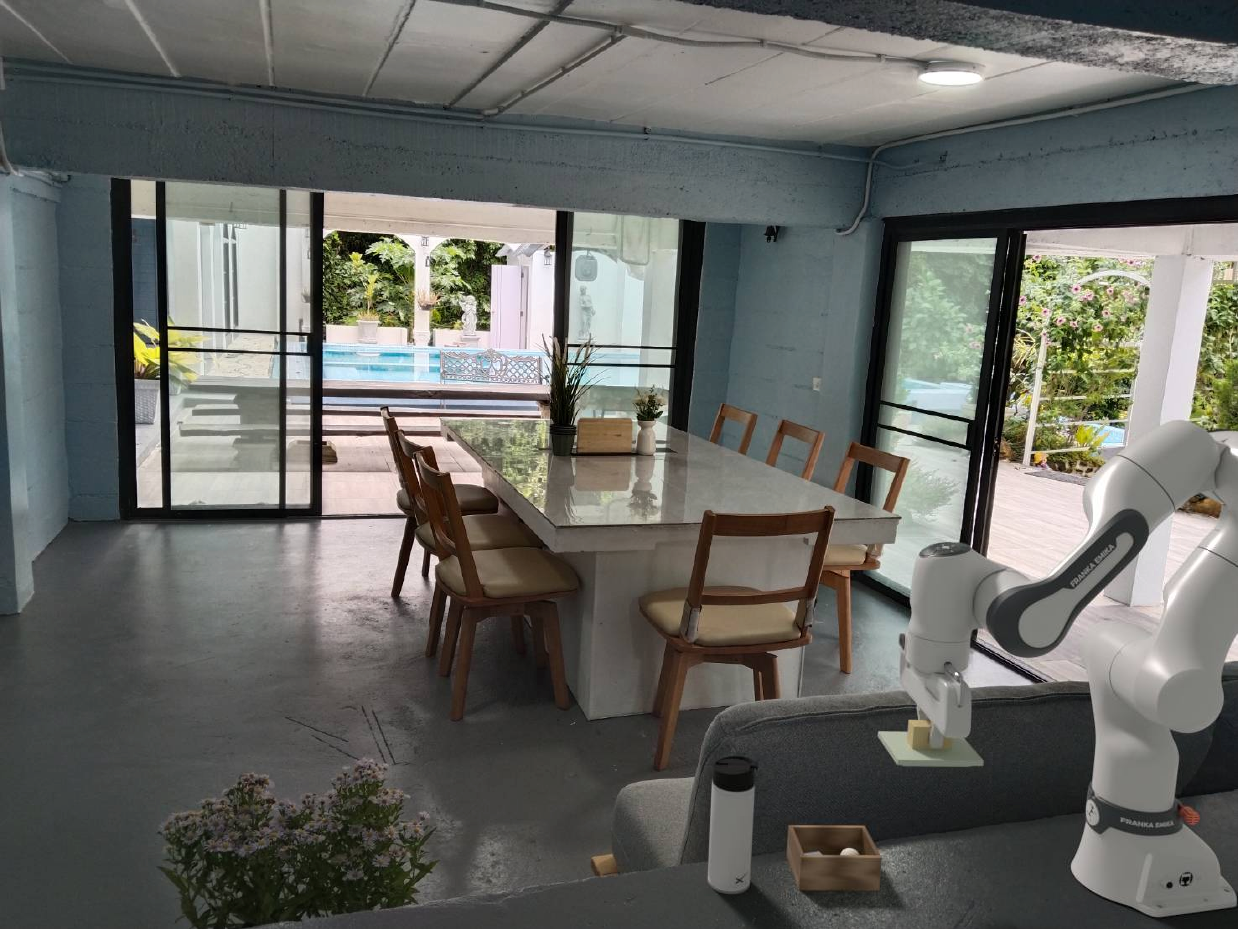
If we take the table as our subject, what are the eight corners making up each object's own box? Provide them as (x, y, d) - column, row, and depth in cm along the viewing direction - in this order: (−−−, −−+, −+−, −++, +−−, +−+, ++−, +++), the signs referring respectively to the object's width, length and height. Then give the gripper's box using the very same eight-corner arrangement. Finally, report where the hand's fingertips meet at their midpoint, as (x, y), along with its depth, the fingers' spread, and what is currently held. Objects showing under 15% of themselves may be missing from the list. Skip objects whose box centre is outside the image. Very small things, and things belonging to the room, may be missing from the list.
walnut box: (861, 861, 153) (864, 825, 152) (879, 895, 144) (881, 857, 143) (786, 860, 153) (788, 825, 152) (798, 894, 144) (801, 857, 143)
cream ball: (856, 863, 151) (858, 844, 151) (862, 875, 148) (864, 855, 148) (836, 863, 151) (837, 844, 151) (841, 874, 148) (843, 855, 147)
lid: (957, 742, 151) (960, 711, 150) (982, 771, 141) (985, 738, 141) (877, 741, 150) (879, 709, 150) (897, 770, 141) (899, 737, 140)
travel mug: (750, 902, 142) (756, 773, 139) (705, 895, 143) (710, 768, 140) (753, 878, 148) (759, 754, 145) (709, 872, 149) (715, 749, 146)
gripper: (987, 678, 133) (978, 773, 135) (934, 629, 153) (927, 712, 156) (941, 677, 133) (933, 772, 135) (894, 629, 153) (888, 712, 155)
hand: (930, 740), depth 146 cm, fingers closed on lid, 2 cm apart
